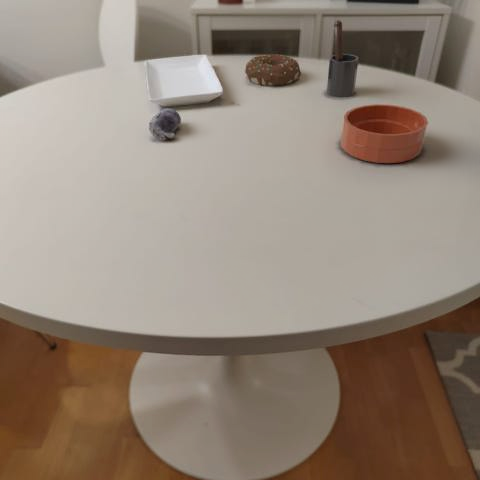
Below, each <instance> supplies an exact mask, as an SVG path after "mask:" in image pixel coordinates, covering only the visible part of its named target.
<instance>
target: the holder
mask: <svg viewBox="0 0 480 480" xmlns="http://www.w3.org/2000/svg"><path fill="white" fill-rule="evenodd" d="M358 67H359V57H358V56H357V55H355V54H349V53H343V61H336V60H335V54H333V55H331V56H329V59H328V68H327V69H328V71H327V79H326V80H327V81H326V82H327V83H326V94H327V95H328V96H329V97H332V98H333V97H334V98H348V97H352V96H353V95H354V94H355V89H356V82H357V75H358Z"/></svg>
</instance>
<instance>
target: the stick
mask: <svg viewBox="0 0 480 480" xmlns="http://www.w3.org/2000/svg"><path fill="white" fill-rule="evenodd" d="M333 27H334V28H333V30H334V55H335V60H336V61H343V54H344V47H343V46H344V45H343V43H344V41H343V40H344V39H343V37H344V36H343V22H342V21H341V20H336V21H335V22H334V24H333Z"/></svg>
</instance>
